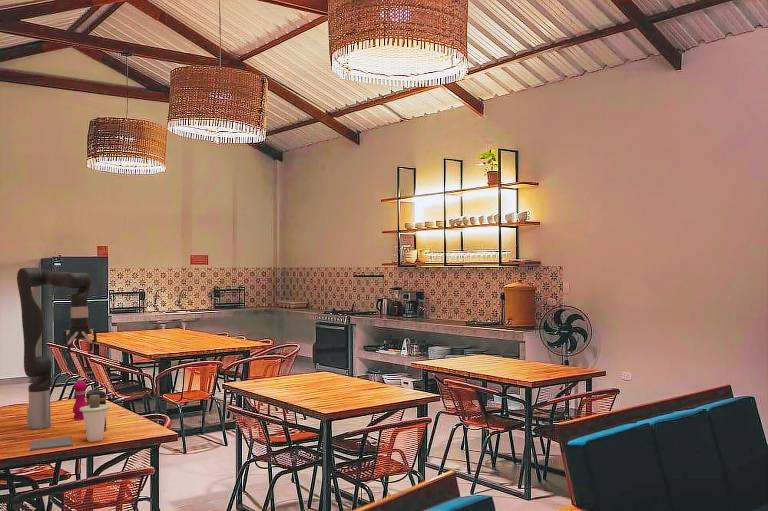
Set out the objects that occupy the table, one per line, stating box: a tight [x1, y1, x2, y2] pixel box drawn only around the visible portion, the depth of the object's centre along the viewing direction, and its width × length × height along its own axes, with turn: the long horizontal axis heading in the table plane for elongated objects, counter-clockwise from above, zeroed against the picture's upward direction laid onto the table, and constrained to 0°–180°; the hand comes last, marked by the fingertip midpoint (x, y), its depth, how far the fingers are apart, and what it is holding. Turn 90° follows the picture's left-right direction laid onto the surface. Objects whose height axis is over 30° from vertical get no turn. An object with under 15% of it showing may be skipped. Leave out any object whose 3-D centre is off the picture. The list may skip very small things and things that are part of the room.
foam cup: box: [83, 410, 107, 442], centre depth 318 cm, size 10×9×13 cm
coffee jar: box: [85, 388, 107, 431], centre depth 335 cm, size 10×8×19 cm
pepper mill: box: [72, 377, 88, 421], centre depth 363 cm, size 7×7×20 cm
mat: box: [29, 436, 74, 451], centre depth 311 cm, size 16×16×1 cm
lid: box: [80, 395, 110, 412], centre depth 318 cm, size 12×12×6 cm
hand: (80, 352), depth 334 cm, fingers open, 8 cm apart
